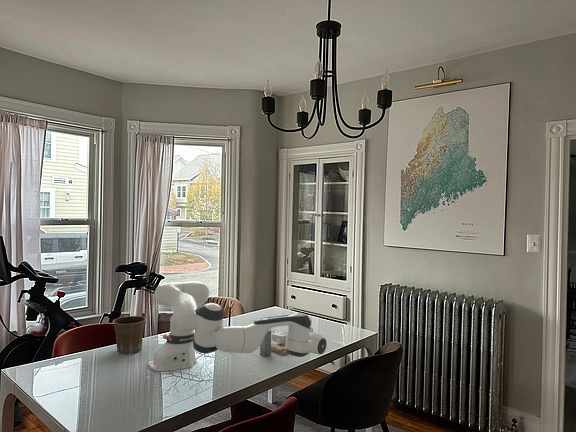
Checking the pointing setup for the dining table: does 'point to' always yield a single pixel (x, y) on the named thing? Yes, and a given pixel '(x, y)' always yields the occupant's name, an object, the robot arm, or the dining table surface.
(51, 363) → the dining table surface
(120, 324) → the plant pot
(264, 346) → the post
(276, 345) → the well block
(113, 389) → the dining table surface
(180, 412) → the dining table surface
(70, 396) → the dining table surface
